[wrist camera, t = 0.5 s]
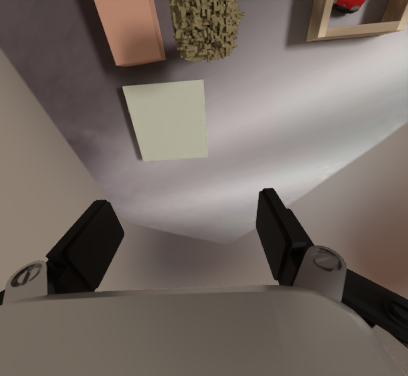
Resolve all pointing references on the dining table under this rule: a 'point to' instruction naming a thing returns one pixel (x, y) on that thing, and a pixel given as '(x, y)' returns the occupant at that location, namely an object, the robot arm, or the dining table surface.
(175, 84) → the plate
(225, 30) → the toy
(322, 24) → the car corral
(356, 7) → the toy car
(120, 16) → the brick
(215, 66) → the dining table surface
